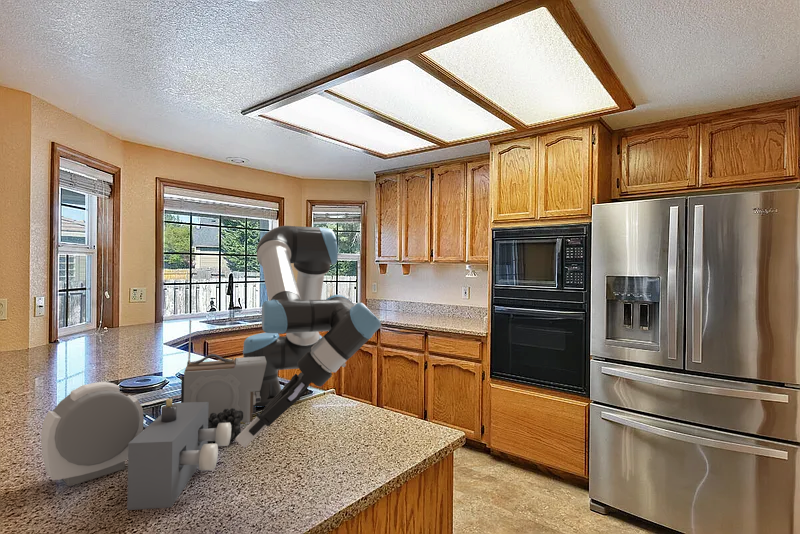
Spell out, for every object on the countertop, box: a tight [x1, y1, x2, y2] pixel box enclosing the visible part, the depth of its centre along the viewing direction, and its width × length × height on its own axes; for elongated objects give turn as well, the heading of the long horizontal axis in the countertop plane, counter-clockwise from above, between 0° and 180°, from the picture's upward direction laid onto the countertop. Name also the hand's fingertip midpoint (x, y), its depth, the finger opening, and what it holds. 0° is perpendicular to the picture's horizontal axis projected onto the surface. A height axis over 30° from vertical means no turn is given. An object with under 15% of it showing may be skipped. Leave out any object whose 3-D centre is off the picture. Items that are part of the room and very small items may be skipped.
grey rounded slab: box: [40, 381, 145, 487], centre depth 96 cm, size 18×8×20 cm, turn 141°
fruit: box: [208, 408, 246, 444], centre depth 115 cm, size 9×8×15 cm
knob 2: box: [179, 442, 219, 472], centre depth 90 cm, size 5×7×5 cm
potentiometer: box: [160, 398, 177, 423], centre depth 95 cm, size 3×3×5 cm
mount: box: [126, 402, 209, 511], centre depth 95 cm, size 24×8×13 cm, turn 9°
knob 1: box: [198, 423, 231, 447], centre depth 102 cm, size 5×7×5 cm
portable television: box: [179, 319, 267, 424], centre depth 131 cm, size 12×24×30 cm, turn 112°
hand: (240, 442), depth 90 cm, fingers closed
